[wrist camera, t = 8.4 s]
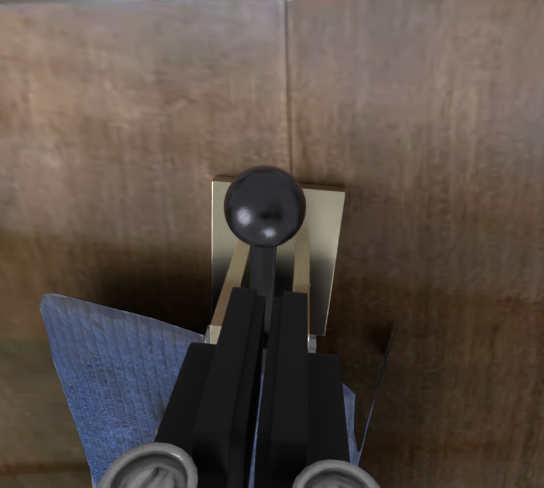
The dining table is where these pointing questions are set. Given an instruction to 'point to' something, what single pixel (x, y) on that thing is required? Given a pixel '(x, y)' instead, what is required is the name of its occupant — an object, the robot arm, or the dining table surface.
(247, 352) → the robot arm
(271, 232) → the lever switch
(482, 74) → the dining table surface
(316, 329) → the metal lever base
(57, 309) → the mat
